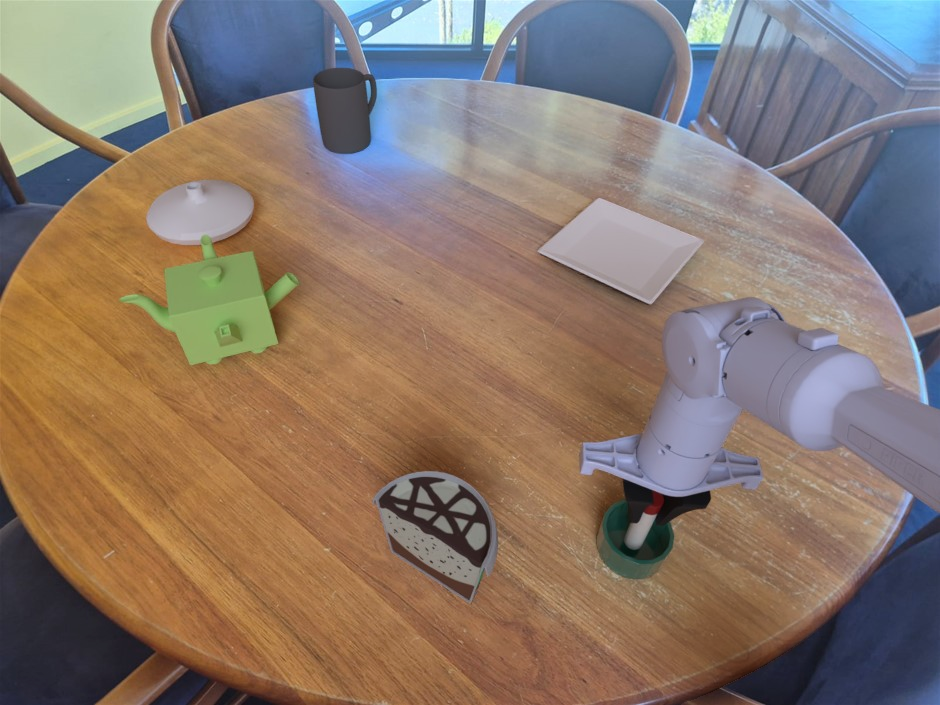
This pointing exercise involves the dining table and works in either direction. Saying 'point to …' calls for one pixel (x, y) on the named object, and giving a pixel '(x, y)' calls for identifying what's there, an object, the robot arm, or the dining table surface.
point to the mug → (344, 108)
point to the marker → (643, 523)
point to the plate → (622, 249)
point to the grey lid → (200, 212)
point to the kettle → (218, 305)
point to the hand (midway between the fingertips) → (645, 514)
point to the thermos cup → (624, 558)
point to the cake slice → (440, 529)
